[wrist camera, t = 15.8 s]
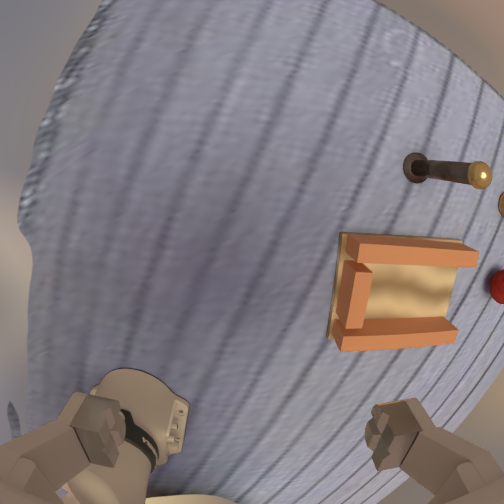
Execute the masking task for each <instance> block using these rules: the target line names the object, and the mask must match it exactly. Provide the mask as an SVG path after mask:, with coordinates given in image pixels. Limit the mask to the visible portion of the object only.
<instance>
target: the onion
mask: <svg viewBox="0 0 504 504" xmlns="http://www.w3.org/2000/svg"><path fill="white" fill-rule="evenodd" d="M490 293H491V296H492V298H493V299H494V300H495V301H496V302H498V303H500V304H504V270H501V271H498V272H496V273H495V274H494V275H493V276H492V278H491V281H490Z"/></svg>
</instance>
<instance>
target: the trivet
mask: <svg viewBox="0 0 504 504" xmlns="http://www.w3.org/2000/svg"><path fill="white" fill-rule="evenodd" d="M347 234H355V235H369V236H382V237H395V238H408V239H420V240H432V241H443V242H455V243H462V241H461V240H459V239H449V238H434V237H419V236H403V235H386V234H369V233H350V232H340V237H339V247H338V256H337V264H336V272H335V280H334V288H333V295H332V302H331V309H330V315H329V322H328V328H327V334H326V336H327V338H328V339H334V337H333V335H332V329H333V324H334V319H339V317H338V315H337V313H336V307H337V301H338V295H339V289H340V283H341V276H342V270H343V263H344V260H354V259H353V258H352V257H351V256H349V255H348V254H347V253H346V252H345V248H346V241H347ZM363 264H364V265H365V266H366V267H368V268H369V269H370V270H371V271H372V272H373V277H372V283H371V288H370V293H369V298H368V303H367V308H366V313H365V317H364V319H388V318H417V317H438V316H443V317H445V316H446V313H447V309H448V305H449V302H450V298H451V294H452V290H453V285H454V281H455V277H456V272H457V267H446V266H421V265H397V264H374V263H363Z"/></svg>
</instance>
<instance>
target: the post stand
mask: <svg viewBox="0 0 504 504" xmlns="http://www.w3.org/2000/svg"><path fill="white" fill-rule="evenodd" d="M403 171H404V174H405V176H406V178H407V179H408V180H409V181H411V182H413V183H422V182H424V181H425V180H426V179H427V178H432V179H439V180H445V181H451V182H457V183H463V184H469V185H472V186H473V187H474V188H476V189H485V188H487V187H488V186H489V185H490V184H491V181H492V172H491V169H490V167H489V166H488V165H487V164H486V163H484V162H482V161H475V162H473V163H465V162H451V161H435V160H427V158H426V157H425V156H424V155H423V154H421V153H411V154H409V155H408V156H407V157H406V158H405V160H404V163H403Z"/></svg>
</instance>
